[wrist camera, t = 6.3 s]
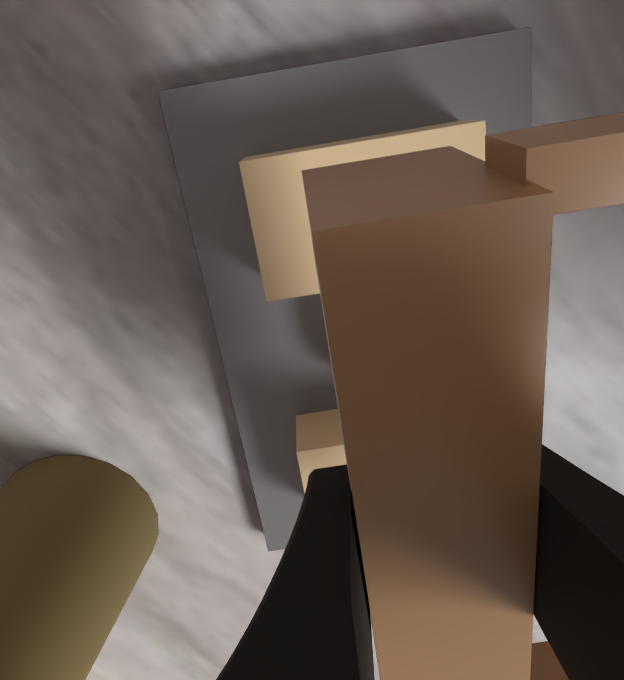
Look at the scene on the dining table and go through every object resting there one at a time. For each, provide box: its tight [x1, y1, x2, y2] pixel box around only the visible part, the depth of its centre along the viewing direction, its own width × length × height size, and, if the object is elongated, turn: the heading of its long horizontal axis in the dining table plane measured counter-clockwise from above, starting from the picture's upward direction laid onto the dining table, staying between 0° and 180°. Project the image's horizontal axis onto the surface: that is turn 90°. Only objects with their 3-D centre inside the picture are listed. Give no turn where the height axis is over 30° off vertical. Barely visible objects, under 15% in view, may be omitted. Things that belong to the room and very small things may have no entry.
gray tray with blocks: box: [157, 27, 531, 551], centre depth 17 cm, size 10×16×3 cm, turn 9°
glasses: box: [301, 112, 624, 680], centre depth 10 cm, size 5×12×4 cm, turn 9°
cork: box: [0, 455, 159, 680], centre depth 16 cm, size 6×6×11 cm
